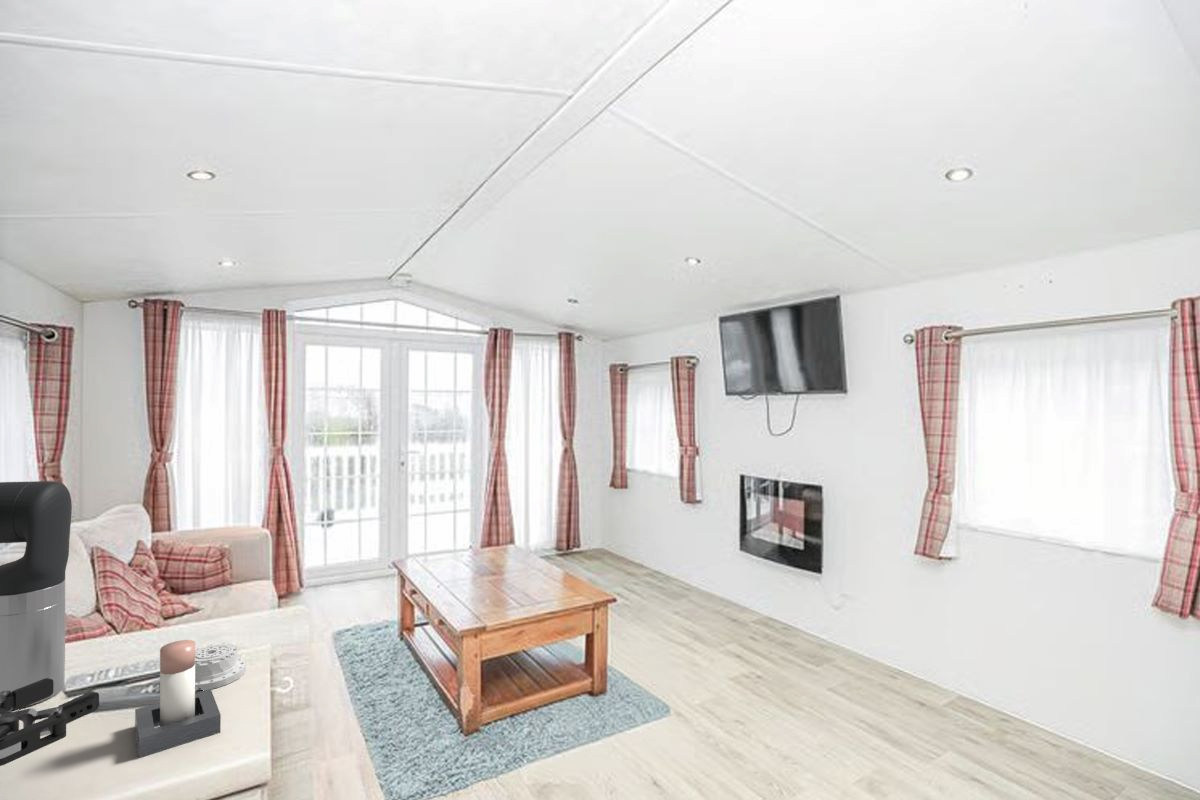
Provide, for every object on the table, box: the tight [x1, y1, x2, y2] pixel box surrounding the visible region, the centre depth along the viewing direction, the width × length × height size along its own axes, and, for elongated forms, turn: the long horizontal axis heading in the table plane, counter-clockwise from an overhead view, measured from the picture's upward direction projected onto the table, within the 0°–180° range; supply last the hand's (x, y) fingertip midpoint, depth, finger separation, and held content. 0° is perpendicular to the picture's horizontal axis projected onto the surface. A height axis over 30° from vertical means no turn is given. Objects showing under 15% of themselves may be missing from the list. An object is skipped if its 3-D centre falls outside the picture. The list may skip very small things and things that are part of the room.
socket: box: [134, 689, 222, 759], centre depth 82 cm, size 9×9×2 cm
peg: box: [159, 639, 196, 727], centre depth 82 cm, size 4×4×12 cm
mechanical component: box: [195, 642, 247, 690], centre depth 97 cm, size 10×4×10 cm
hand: (73, 692), depth 71 cm, fingers open, 8 cm apart
